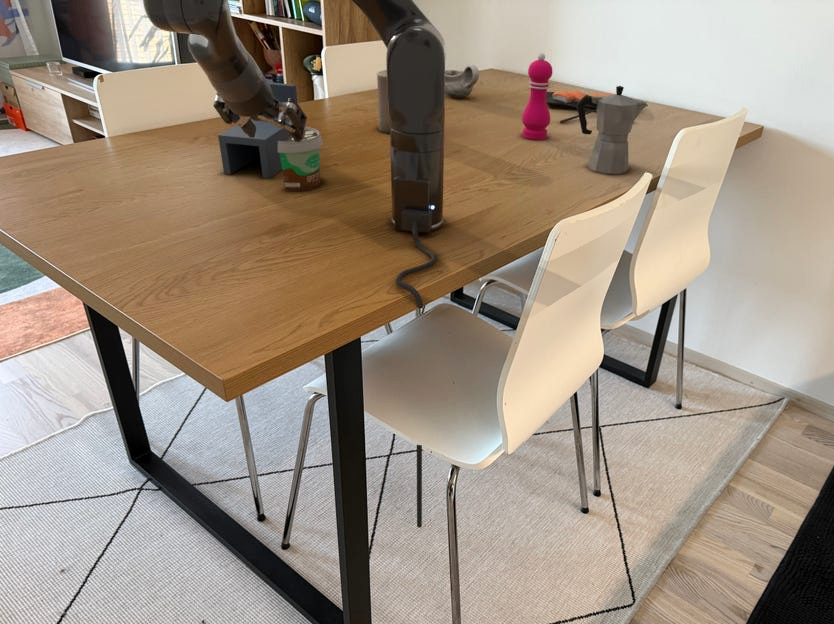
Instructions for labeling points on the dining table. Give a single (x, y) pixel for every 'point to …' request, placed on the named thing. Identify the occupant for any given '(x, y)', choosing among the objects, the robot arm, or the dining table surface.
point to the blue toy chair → (257, 140)
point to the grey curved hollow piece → (460, 81)
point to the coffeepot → (610, 130)
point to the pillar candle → (383, 102)
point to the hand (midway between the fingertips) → (276, 135)
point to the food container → (301, 160)
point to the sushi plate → (569, 101)
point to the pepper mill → (537, 100)
